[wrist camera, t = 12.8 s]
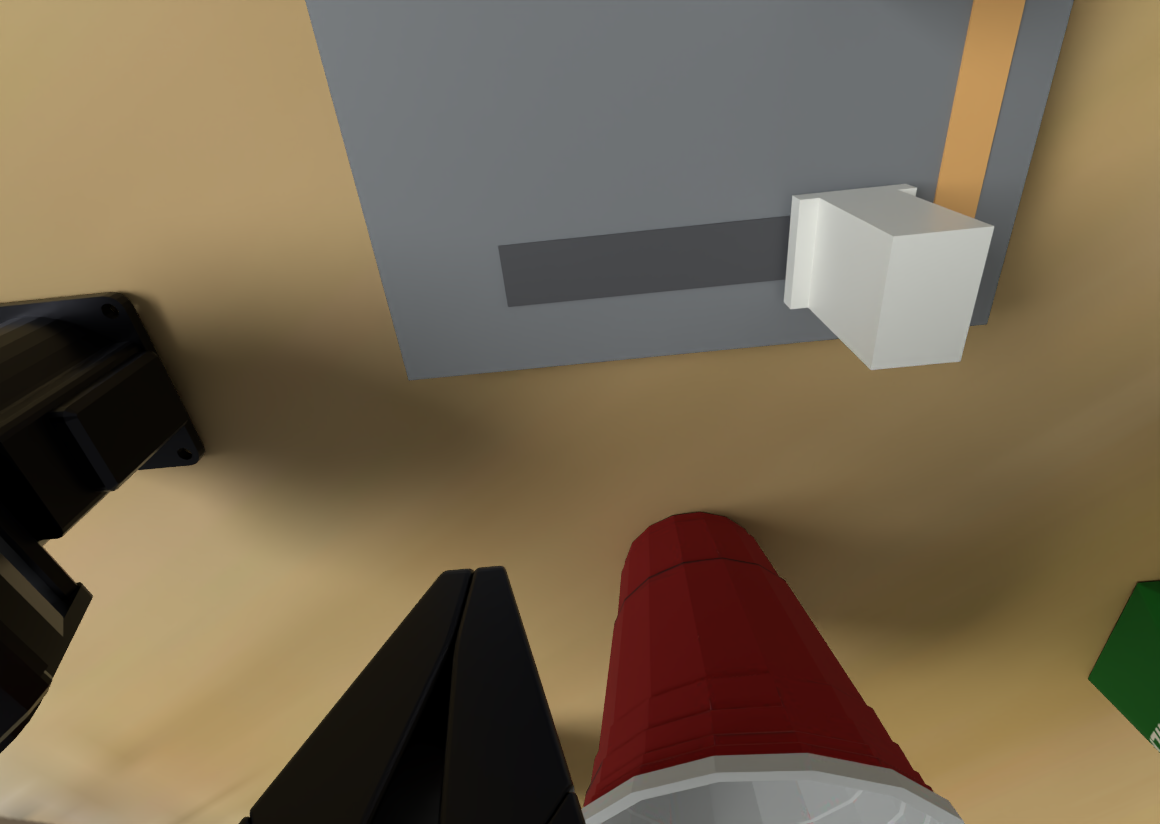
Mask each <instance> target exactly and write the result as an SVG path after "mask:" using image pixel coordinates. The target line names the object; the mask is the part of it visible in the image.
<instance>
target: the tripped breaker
mask: <svg viewBox="0 0 1160 824" xmlns="http://www.w3.org/2000/svg"><path fill="white" fill-rule="evenodd" d="M916 191H917V188H916V187H914V186H911V185H908V184H898V185H888V186H879V187H869V188H859V189H850V190H840V191H830V192H821V193H811V194H802V195H792V206H791V218H790V231H789V243H788V255H787V267H786V280H785V292H784V303H785V304H786V305H787V306H788V307H789V308H790V309H799V308H809V309H810V310H811V311H812V312H813V313H814V314H815V315H816V316H817V317H818V318H819V319H820V320H821V321H822V322H823V323H824V324H825V325H826V326H827V327H828V328H829V329H830V330H831V331H832V332H833V333H834V334H835V335H836V336H837V337H838V338H839V339H840V340H841V341H842V342H843V343H844V344H845V345H846V346H847V347H848V348H849V349H850V350H851V351H852V352H853V353H854V354H855V355H856V356H857V357H858V358H859V359H860V360H861V361H862V362H863V363H864V364H865V365H866V366H867V367H868V368H869V369H870V370H876V369H887V368H897V367H908V366H918V365H929V364H939V363H950V362H960V361H961V357H962V353H963V349H964V345H965V341H966V337H967V333H968V329H969V325H970V321H971V317H972V313H973V309H974V305H975V302H976V298H977V294H978V290H979V286H980V282H981V278H982V274H983V270H984V266H985V262H986V258H987V254H988V250H989V246H990V242H991V238H992V234H993V230H994V226H993V225H990V224H987V223H985V222H982V221H979V220H977V219H974V218H971V217H969V216H966V215H963V214H961V213H958V212H955V211H953V210H950V209H947V208H945V207H942V206H939V205H937V204H934V203H931V202H929V201H926V200H923V199H921V198H918V197H916Z"/></svg>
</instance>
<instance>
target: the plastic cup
mask: <svg viewBox="0 0 1160 824" xmlns="http://www.w3.org/2000/svg"><path fill="white" fill-rule="evenodd" d="M582 813H583V816H584V819H585V823H586V824H964V822H963V820H962V819H961V817H960V816H959V814H958V813H957V812H956V810H955V809H954V808H953V806H952V805H951V803H950V802H949V801H948V800H947V799H945V798H943V797H941V796H939V795H938V794H936V793H934V792H933V790H932V788H931V787H930V786H928V785H926V784H925V783H924V781H923V779H922V778H921V776H920V774H919V773H918V772H916V771H914V770H913V768H912V767H911V765H910V763H909V762H908V760H907V758H906V757H905V755H904V753H903V752H902V750H901V748H900V747H899V745H898V744H896V743H895V742H893V741H892V740H891V738H890V736H889V735H888V733H887V731H886V730H885V728H884V727H883V725H882V723H881V722H880V720H879V718H878V717H877V715H876V713H875V712H874V710H873V708H871V707H869V706H867V705H866V703H865V702H864V700H863V698H862V697H861V695H860V694H859V692H858V691H857V689H856V688H855V686H854V685H853V683H852V682H851V680H850V679H849V677H848V676H847V674H846V673H845V671H844V670H843V668H842V667H841V665H840V663H839V662H838V660H837V659H836V657H835V656H834V654H833V653H832V651H831V650H830V648H829V647H828V645H827V644H826V642H825V641H824V639H823V638H822V636H821V635H820V633H819V631H818V630H817V628H816V627H815V625H814V624H813V622H812V621H811V619H810V618H809V616H808V615H807V613H806V612H805V610H804V609H803V607H802V606H801V604H800V603H799V601H798V600H797V598H796V596H795V595H794V593H793V592H792V590H791V589H790V587H789V586H788V584H787V583H786V581H785V580H784V579H782V578H781V577H779V576H778V574H777V573H776V571H775V569H774V568H773V566H772V565H771V563H770V562H769V560H768V559H767V557H766V556H765V554H764V553H763V551H762V550H761V548H760V547H759V545H758V544H757V542H756V541H755V539H754V538H753V537H752V536H751V535H749V534H748V533H747V531H746V530H745V529H744V528H743V527H741V526H740V525H738V524H736V523H735V522H733V521H732V520H730V519H728V518H727V517H724V516H719V515H714V514H708V513H703V512H696V513H688V514H680V515H673V516H671V517H669V518H666V519H664V520H662V521H660V522H658V523H655V524H653V525H651V526H649V527H648V528H647V529H646V530H645V531H644V532H643V533H642V534H641V535H640V536H639V537H638V538H637V539H636V540H635V541H634V542H633V543H632V545H631V548H630V550H629V553H628V555H627V558H626V560H625V565H624V568H623V570H622V574H621V585H620V596H619V608H618V616H617V619H616V621H615V624H614V631H613V639H612V647H611V655H610V663H609V671H608V679H607V688H606V696H605V704H604V712H603V720H602V728H601V736H600V744H599V751H598V753H597V755H596V757H595V760H594V766H593V773H592V779H591V784H590V786H589V788H588V790H587V792H586V796H585V802H584V807H583V808H582Z"/></svg>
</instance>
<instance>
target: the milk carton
mask: <svg viewBox="0 0 1160 824" xmlns="http://www.w3.org/2000/svg"><path fill="white" fill-rule="evenodd" d="M1088 680H1089V681H1090V682H1091V683H1092V684H1093V685H1094V686H1095V687H1096V688H1097V689H1098V690H1099V691H1100V692H1101V693H1102V694H1103V695H1104V696H1105V697H1106V698H1107V699H1108V700H1109V701H1110V702H1111V703H1112V704H1113V705H1114V706H1115V707H1116V708H1117V709H1118V710H1119V711H1120V712H1121V713H1122V714H1123V715H1124V716H1125V717H1126V718H1127V719H1128V720H1129V722H1130V723H1131V724H1132V725H1133V726H1134V727H1135V728H1136V729H1137V730H1138V731H1139V732H1140V733H1141V734H1142V735H1143V736H1144V737H1145V738H1146V739H1147V740H1148V741H1149V742H1150V743H1151V744H1152V745H1153V746H1154V747H1155V748H1156V749H1157V750H1158V751H1159V752H1160V581H1154V582H1143V583H1137V585H1136V587H1135V589H1134V591H1133V593H1132V595H1131V597H1130V599H1129V601H1128V603H1127V604H1126V606H1125V608H1124V610H1123V612H1122V614H1121V616H1120V618H1119V620H1118V622H1117V624H1116V626H1115V628H1114V630H1113V631H1112V633H1111V635H1110V637H1109V639H1108V641H1107V643H1106V645H1105V647H1104V649H1103V651H1102V653H1101V655H1100V657H1099V659H1098V660H1097V662H1096V664H1095V666H1094V668H1093V670H1092V672H1091V674H1090V676H1089V678H1088Z"/></svg>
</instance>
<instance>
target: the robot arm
mask: <svg viewBox="0 0 1160 824" xmlns="http://www.w3.org/2000/svg"><path fill="white" fill-rule="evenodd" d="M110 304H111V305H113V306H114V307H115V308H116V309H117V310H118V313H119V314H117V313H115V312H113V310H112V309H111V308H110ZM184 448H185V449H187V450H189V451H190V452H191V453H189V452H187V451H186V450H185V449H184ZM204 453H205V449H204V446H203V444H202V442H201V440H200V438H199V436H198V434H197V432H196V430H195V428H194V426H193V424H192V422H191V420H190V418H189V416H188V414H187V412H186V410H185V408H184V406H183V404H182V402H181V400H180V398H179V396H178V394H177V392H176V390H175V388H174V386H173V384H172V382H171V380H170V378H169V376H168V374H167V372H166V370H165V368H164V366H163V364H162V362H161V360H160V358H159V356H158V354H157V352H156V350H155V348H154V346H153V344H152V342H151V340H150V338H149V336H148V334H147V332H146V330H145V328H144V326H143V324H142V322H141V320H140V318H139V316H138V314H137V312H136V310H135V308H134V306H133V304H132V303H131V302H130V300H129V299H128V298H126V297H125V296H124V295H121V294H119V293H115V292H106V293H97V294H87V295H77V296H67V297H58V298H48V299H38V300H29V301H19V302H9V303H0V753H1V752H2V751H3V750H4V749H5V748H6V747H7V746H8V745H9V744H10V743H11V742H12V741H13V740H14V739H15V738H16V737H17V736H18V734H19V733H20V732H21V731H22V730H23V728H24V727H25V726H26V725H27V723H28V722H29V721H30V719H31V718H32V716H33V715H34V713H35V711H36V710H37V708H38V706H39V705H40V703H41V701H42V699H43V697H44V696H45V695H46V694H47V692H48V690H49V687H50V685H51V682H52V679H53V677H54V675H55V672H56V670H57V668H58V666H59V664H60V662H61V660H62V658H63V656H64V654H65V652H66V650H67V648H68V646H69V644H70V642H71V640H72V638H73V636H74V634H75V632H76V630H77V628H78V626H79V624H80V622H81V620H82V618H83V616H84V614H85V612H86V610H87V608H88V606H89V604H90V602H91V600H92V598H93V595H92V594H91V593H90V592H89V591H88V590H87V589H86V587H85V586H84V585H83V584H82V583H81V582H79V583H76V582H75V581H74V580H73V579H72V578H71V577H70V576H69V575H68V574H67V573H66V571H65V570H64V569H63V568H62V567H61V566H60V565H59V564H58V563H57V562H56V561H55V559H54V558H53V557H52V556H51V555H50V554H49V553H48V552H47V551H46V550H45V549H44V548H43V545H44V544H46V543H47V542H48V541H49V540H50V539H58V538H60V537H62V536H63V535H65V534H66V533H67V532H68V531H69V530H70V529H71V528H72V527H73V526H74V525H75V524H76V523H77V522H78V521H79V520H80V519H82V518H83V517H84V516H85V515H86V514H87V513H88V512H89V511H90V510H91V509H92V508H93V507H94V506H95V505H96V504H97V503H99V502H100V501H101V500H102V499H103V498H104V497H105V496H106V495H107V494H108V493H109V492H110V491H115V490H116V489H118V488H119V487H120V486H121V485H122V484H123V483H124V482H125V481H126V480H127V479H129V478H130V477H131V476H132V475H133V474H134V473H135V472H136V471H137V470H144V469H155V468H166V467H176V466H187V465H193V464H196V463H197V462H198V461H199V460H200V459H201V458H202V456H203V455H204ZM239 824H586V823H585V819H584V816H583V813H582V810H581V807H580V803H579V800H578V797H577V795H576V793H575V791H574V786H573V782H572V779H571V776H570V773H569V770H568V766H567V763H566V760H565V757H564V754H563V750H562V747H561V744H560V741H559V738H558V734H557V731H556V728H555V725H554V722H553V718H552V715H551V712H550V709H549V706H548V703H547V699H546V696H545V693H544V690H543V687H542V683H541V680H540V677H539V674H538V671H537V667H536V664H535V661H534V658H533V655H532V651H531V648H530V645H529V642H528V639H527V635H526V632H525V629H524V626H523V623H522V619H521V616H520V613H519V610H518V607H517V604H516V600H515V597H514V594H513V591H512V588H511V584H510V581H509V578H508V575H507V572H506V569H505V568H504V567H503V566H492V567H481V568H477V569H476V570H475V571H474V570H472V569H458V570H447V571H444V572H443V573H442V574H441V575H440V576H439V577H438V578H437V579H436V581H435V582H434V583H433V584H432V586H431V587H430V588H429V589H428V590H427V592H426V593H425V594H424V595H423V597H422V598H421V599H420V600H419V602H418V603H417V604H416V605H415V607H414V608H413V609H412V610H411V612H410V613H409V614H408V615H407V616H406V618H405V619H404V620H403V621H402V623H401V624H400V625H399V626H398V628H397V629H396V630H395V631H394V633H393V634H392V635H391V636H390V637H389V639H388V640H387V641H386V642H385V644H384V645H383V646H382V647H381V649H380V650H379V651H378V652H377V654H376V655H375V656H374V657H373V659H372V660H371V661H370V662H369V663H368V665H367V666H366V667H365V668H364V670H363V671H362V672H361V673H360V675H359V676H358V677H357V678H356V680H355V681H354V682H353V683H352V684H351V686H350V687H349V688H348V689H347V691H346V692H345V693H344V694H343V696H342V697H341V698H340V699H339V701H338V702H337V703H336V704H335V706H334V707H333V708H332V709H331V710H330V712H329V713H328V714H327V715H326V717H325V718H324V719H323V720H322V722H321V723H320V724H319V725H318V727H317V728H316V729H315V730H314V731H313V733H312V734H311V735H310V736H309V738H308V739H307V740H306V741H305V743H304V744H303V745H302V746H301V748H300V749H299V750H298V751H297V753H296V754H295V755H294V756H293V757H292V759H291V760H290V761H289V762H288V764H287V765H286V766H285V767H284V769H283V770H282V771H281V772H280V774H279V775H278V776H277V777H276V779H275V780H274V781H273V782H272V783H271V785H270V786H269V787H268V788H267V790H266V791H265V792H264V793H263V795H262V796H261V797H260V798H259V800H258V801H257V802H256V803H255V804H254V806H253V807H252V808H251V810H250V817H244V818H243V819H242V820H241V821H240V823H239Z"/></svg>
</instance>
